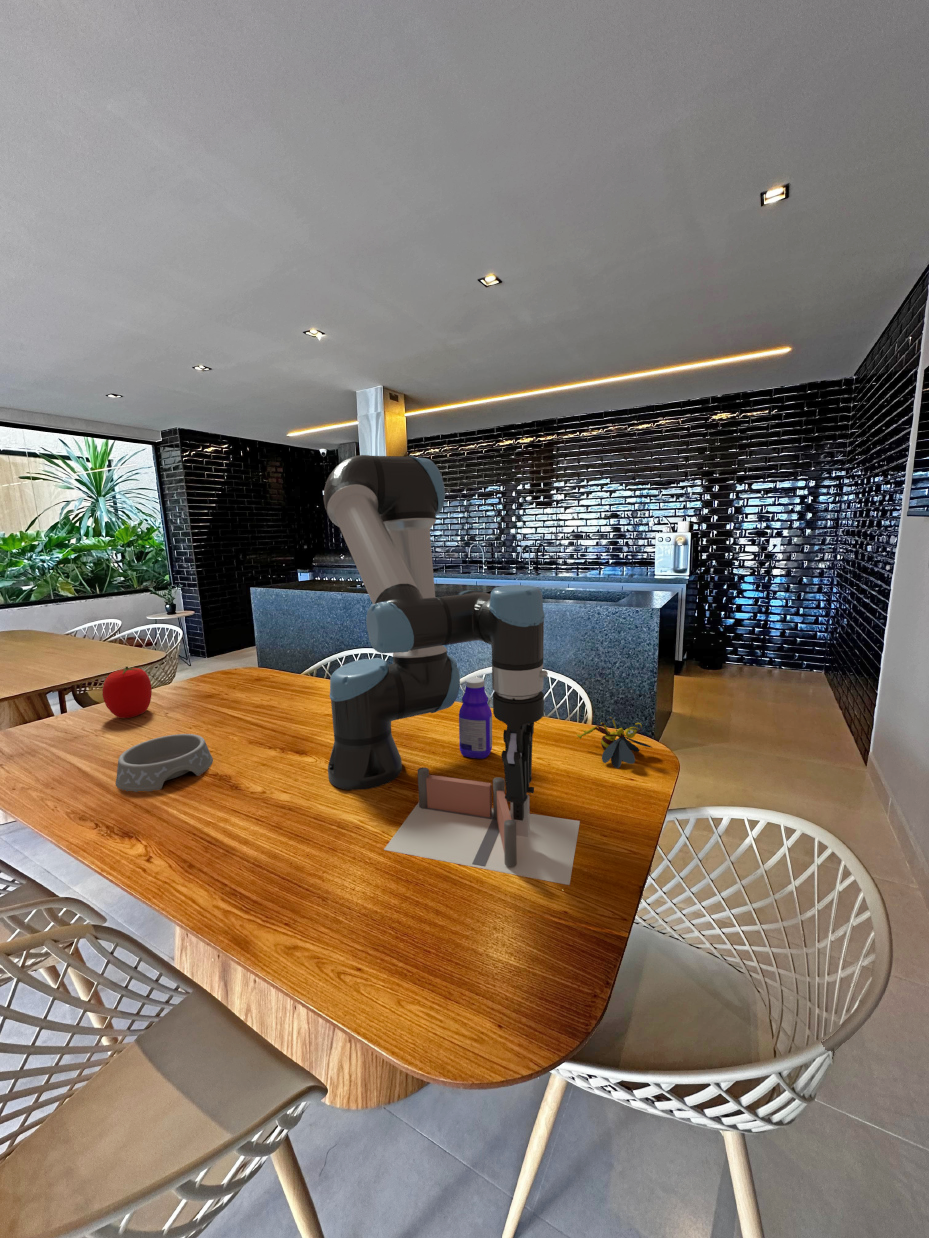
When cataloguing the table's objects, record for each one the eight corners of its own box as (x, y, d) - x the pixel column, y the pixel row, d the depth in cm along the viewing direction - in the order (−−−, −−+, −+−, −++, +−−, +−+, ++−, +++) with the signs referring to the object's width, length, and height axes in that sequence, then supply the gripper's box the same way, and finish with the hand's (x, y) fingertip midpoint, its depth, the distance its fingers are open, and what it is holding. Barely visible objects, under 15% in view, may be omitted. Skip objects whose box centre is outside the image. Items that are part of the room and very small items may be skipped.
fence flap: (495, 820, 86) (494, 785, 85) (505, 820, 87) (505, 784, 85) (505, 867, 75) (505, 827, 74) (517, 866, 75) (517, 826, 74)
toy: (590, 707, 119) (653, 717, 109) (593, 741, 120) (655, 753, 110) (564, 722, 111) (630, 734, 101) (567, 758, 112) (632, 774, 102)
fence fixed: (417, 807, 92) (415, 771, 90) (421, 801, 94) (420, 766, 92) (503, 821, 87) (503, 783, 85) (506, 814, 89) (505, 778, 87)
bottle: (495, 750, 114) (494, 676, 111) (488, 762, 109) (486, 684, 106) (465, 746, 117) (462, 674, 113) (456, 757, 112) (454, 682, 108)
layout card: (383, 851, 80) (383, 849, 80) (422, 799, 95) (422, 796, 95) (569, 887, 71) (569, 884, 71) (579, 823, 86) (579, 820, 86)
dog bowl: (106, 774, 109) (102, 751, 108) (196, 745, 122) (193, 724, 121) (128, 802, 97) (124, 777, 96) (225, 767, 111) (222, 744, 110)
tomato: (137, 723, 136) (129, 672, 134) (95, 724, 137) (87, 673, 134) (165, 706, 149) (158, 660, 146) (127, 707, 149) (119, 660, 146)
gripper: (536, 709, 68) (537, 864, 72) (549, 678, 80) (549, 813, 84) (482, 704, 70) (486, 855, 75) (503, 675, 82) (505, 807, 87)
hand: (520, 833), depth 80 cm, fingers closed
